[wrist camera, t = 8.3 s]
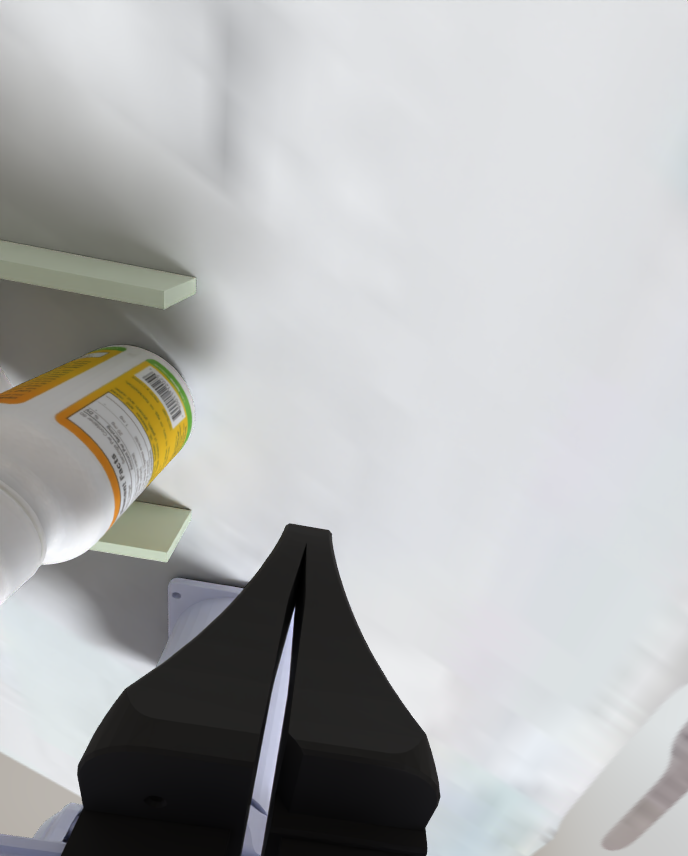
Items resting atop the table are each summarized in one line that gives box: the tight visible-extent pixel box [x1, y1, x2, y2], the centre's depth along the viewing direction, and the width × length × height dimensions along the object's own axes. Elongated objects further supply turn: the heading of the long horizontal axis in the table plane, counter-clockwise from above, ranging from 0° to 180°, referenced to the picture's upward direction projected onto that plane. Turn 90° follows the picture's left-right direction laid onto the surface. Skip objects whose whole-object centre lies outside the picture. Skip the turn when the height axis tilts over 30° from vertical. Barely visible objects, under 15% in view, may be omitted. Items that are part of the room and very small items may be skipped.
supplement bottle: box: [0, 345, 195, 605], centre depth 15 cm, size 5×5×10 cm
